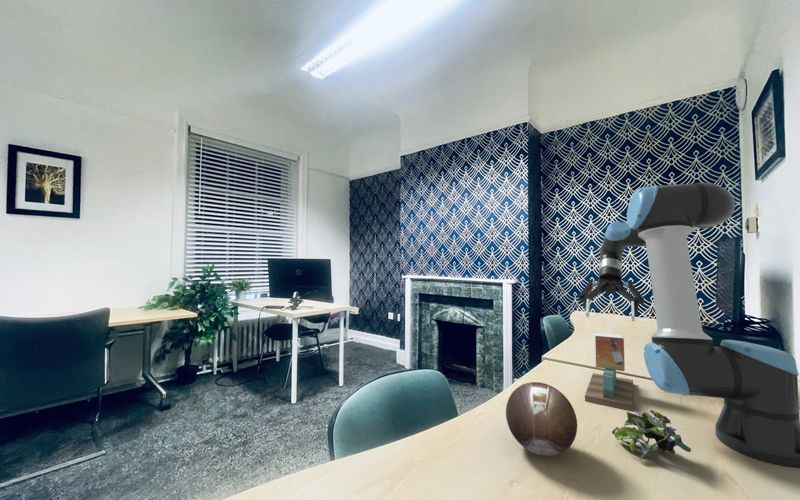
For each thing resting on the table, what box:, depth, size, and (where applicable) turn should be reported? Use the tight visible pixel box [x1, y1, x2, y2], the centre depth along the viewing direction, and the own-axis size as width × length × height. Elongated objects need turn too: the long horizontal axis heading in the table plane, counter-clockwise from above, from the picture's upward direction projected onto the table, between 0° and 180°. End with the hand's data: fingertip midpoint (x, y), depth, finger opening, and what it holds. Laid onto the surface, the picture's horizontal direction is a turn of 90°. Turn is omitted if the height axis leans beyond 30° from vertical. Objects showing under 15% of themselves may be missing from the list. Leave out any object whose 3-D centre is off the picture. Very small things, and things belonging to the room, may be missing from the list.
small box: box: [593, 332, 626, 372], centre depth 106 cm, size 8×6×10 cm
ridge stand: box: [584, 368, 634, 412], centre depth 106 cm, size 24×12×8 cm, turn 144°
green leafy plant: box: [611, 409, 692, 459], centre depth 72 cm, size 11×11×12 cm
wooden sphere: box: [505, 381, 578, 457], centre depth 74 cm, size 15×15×15 cm
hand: (609, 316), depth 114 cm, fingers open, 13 cm apart
